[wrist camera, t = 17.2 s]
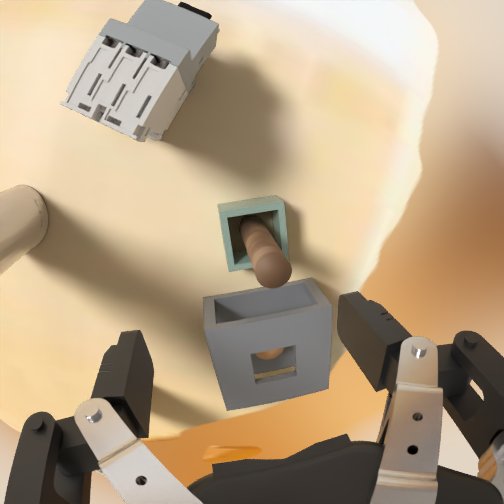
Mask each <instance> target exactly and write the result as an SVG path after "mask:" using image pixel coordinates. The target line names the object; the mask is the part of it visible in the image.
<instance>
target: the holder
mask: <svg viewBox="0 0 504 504" xmlns="http://www.w3.org/2000/svg"><path fill="white" fill-rule="evenodd" d="M218 210H219V216H220V223H221V229H222V235H223V241H224V247H225V253H226V259H227V264H228V269H229V272H232V271H237V270H243V269H249V268H253V266H252V264H251V261H250V258H249V255H248V253H247V250H245V251H239V252H232V246H231V240H230V233H229V227H228V220H227V218H228V217H234V216H240V215H246V214H253V213H259V212H266V211H272V217H273V226H274V236H275V241H276V243H277V245H278V246H279V248H280V249H281V251H282V252H283V254H284V255H285V257H286V258H287V260H288V261H289V252H288V239H287V228H286V216H285V205H284V201H282V200H281V199H280V198H279V197H278V196H269V197H262V198H255V199H249V200H242V201H236V202H230V203H224V204H218Z"/></svg>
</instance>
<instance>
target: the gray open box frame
mask: <svg viewBox="0 0 504 504" xmlns="http://www.w3.org/2000/svg"><path fill="white" fill-rule="evenodd" d="M203 312H204V332H205V336H206V340H207V344H208V347H209V351H210V355H211V358H212V362H213V365H214V369H215V372H216V376H217V379H218V383H219V386H220V390H221V393H222V396H223V399H224V403H225V406H226V409H227V411H229V410H235V409H241V408H247V407H252V406H258V405H263V404H268V403H273V402H277V401H282V400H286V399H291V398H295V397H299V396H303V395H307V394H311V393H315V392H318V391H322V390H326V389H328V388H329V374H330V356H331V334H332V305H331V303H330V302H329V300H328V299H327V298H326V296H325V295H324V293H323V292H322V291H321V289H320V288H319V287H318V285H317V284H316V282H315V281H314V280H313V278H308V279H302V280H297V281H292V282H287V283H285V284H284V285H283V286H281V287H279V288H274V289H270V288H266V287H260V288H255V289H249V290H244V291H238V292H233V293H227V294H221V295H215V296H209V297H203ZM279 348H284V350H283V352H282V353H281V354H280V355H279V356H278V357H276V358H273V359H269V360H264V359H261V358H259V357H257V356H256V354H255V353H260V352H265V351H270V350H275V349H279ZM292 366H295V371H293V372H289V373H284V374H280V375H275V376H270V377H265V378H260V379H255V377H254V374H259V373H264V372H269V371H273V370H278V369H283V368H287V367H292Z"/></svg>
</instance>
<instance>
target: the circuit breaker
mask: <svg viewBox="0 0 504 504" xmlns="http://www.w3.org/2000/svg"><path fill="white" fill-rule="evenodd" d="M211 17H212V16H211V14H209V13H207V12H205V11H202V10H199V9H197V8H194V7H192V6H190V5H189V4H186V3H184V2H180V3H179V5H178V6H177V5H174V4H171V3H169V2H166V1H163V0H145V1H144V2H143V3H142V5H141V6H140V7H139V8H138V10H137V11H136V12H135V14H134V15H133V16H132V18H131V19H130V20H129V22H128V23H127V24H126V23H123V22H120V21H117V20H114V19H111V18H110V19H109V20H108V22H107V23H106V25H105V26H104V28H103V29H102V30H101V32H100V33H99V35H98V36H97V38H96V40H95V41H94V43H93V44H92V46H91V47H90V49H89V51H88V52H87V54H86V56H85V57H84V59H83V61H82V62H81V64H80V66H79V68H78V69H77V71H76V73H75V75H74V77H73V78H72V80H71V82H70V84H69V86H68V88H67V90H66V92H68V93H69V94H68V96H67V98H66V100H65V102H63V101H61V102H60V104H61V105H63V106H65V107H67V108H69V109H71V110H74V111H77V112H78V113H80V114H82V115H84V116H87V117H89V118H91V119H93V120H95V121H97V122H99V123H101V124H104V125H106V126H108V127H110V128H112V129H114V130H116V131H118V132H120V133H122V134H125V135H128V136H130V137H131V138H133V139H135V140H137V141H139V142H145V140H146V138H147V137H149V138H151V139H153V140H155V141H158V140H162V139H163V137H162V135H163V133H164V132H165V130H166V131H167V130H168V128H169V126H170V124H171V122H172V121H173V119H174V117H175V116H176V114H177V112H178V111H179V109H180V107H181V105H182V104H183V102H184V101H185V99H186V97H187V96H188V94H189V92H190V91H191V89H192V88H193V86H194V85H195V78H194V77H195V76H196V74H197V73H198V71H199V70H200V68H201V67H202V65H203V64H204V62H205V61H206V59H207V58H208V56H209V55H210V54H211V52H212V51H213V49H214V48H215V46H216V40H217V33H218V32H219V30H220V29H219V28H218V26H219V24H218V23H216V22H214V21H212V20H210V19H211Z"/></svg>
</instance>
